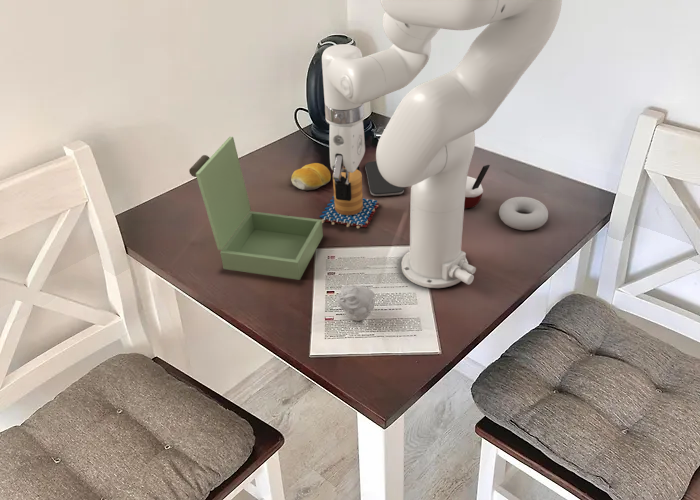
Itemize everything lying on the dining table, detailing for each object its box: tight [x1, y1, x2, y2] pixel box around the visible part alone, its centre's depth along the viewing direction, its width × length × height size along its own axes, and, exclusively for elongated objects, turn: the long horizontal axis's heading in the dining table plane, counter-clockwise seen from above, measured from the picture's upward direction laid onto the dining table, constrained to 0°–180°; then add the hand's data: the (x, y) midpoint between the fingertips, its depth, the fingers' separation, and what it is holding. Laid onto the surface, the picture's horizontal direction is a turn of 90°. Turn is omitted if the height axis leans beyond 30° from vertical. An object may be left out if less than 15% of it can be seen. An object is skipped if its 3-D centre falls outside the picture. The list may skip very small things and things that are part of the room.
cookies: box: [332, 167, 364, 215], centre depth 138 cm, size 6×6×8 cm
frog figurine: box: [335, 284, 375, 322], centre depth 113 cm, size 6×7×7 cm
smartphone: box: [364, 160, 405, 197], centre depth 153 cm, size 8×1×15 cm
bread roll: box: [290, 162, 332, 191], centre depth 153 cm, size 8×9×4 cm
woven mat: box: [319, 195, 380, 229], centre depth 141 cm, size 10×11×2 cm
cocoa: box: [464, 164, 491, 209], centre depth 139 cm, size 10×6×12 cm, turn 6°
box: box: [219, 210, 324, 281], centre depth 130 cm, size 16×15×5 cm
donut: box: [498, 196, 549, 231], centre depth 137 cm, size 10×4×10 cm
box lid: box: [189, 136, 252, 251], centre depth 126 cm, size 16×15×5 cm
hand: (348, 190), depth 138 cm, fingers closed on cookies, 6 cm apart
